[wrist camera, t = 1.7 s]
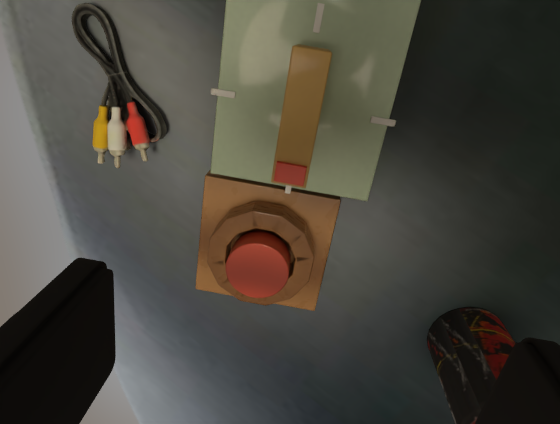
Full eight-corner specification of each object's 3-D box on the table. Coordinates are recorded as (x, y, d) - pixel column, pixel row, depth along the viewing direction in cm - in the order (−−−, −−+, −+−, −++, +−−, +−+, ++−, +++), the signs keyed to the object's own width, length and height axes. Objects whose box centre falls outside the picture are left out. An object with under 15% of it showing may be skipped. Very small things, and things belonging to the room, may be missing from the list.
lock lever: (297, 43, 22) (291, 45, 17) (330, 49, 22) (332, 52, 17) (278, 158, 24) (269, 184, 20) (307, 163, 24) (305, 190, 20)
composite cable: (71, 6, 25) (46, 2, 23) (145, -2, 24) (127, -6, 22) (110, 160, 29) (92, 170, 26) (175, 156, 28) (162, 167, 26)
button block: (213, 165, 28) (197, 184, 24) (339, 188, 28) (342, 211, 24) (202, 273, 32) (187, 303, 28) (314, 293, 32) (314, 327, 28)
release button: (234, 225, 26) (228, 238, 24) (295, 236, 26) (293, 249, 24) (227, 277, 27) (222, 292, 26) (285, 288, 27) (283, 303, 26)
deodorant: (411, 338, 32) (479, 557, 19) (471, 293, 30) (597, 504, 17) (460, 377, 34) (558, 611, 20) (521, 337, 32) (677, 568, 18)
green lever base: (234, -40, 23) (222, -52, 20) (418, -9, 23) (433, -16, 20) (215, 164, 28) (203, 178, 25) (366, 191, 28) (371, 208, 25)
